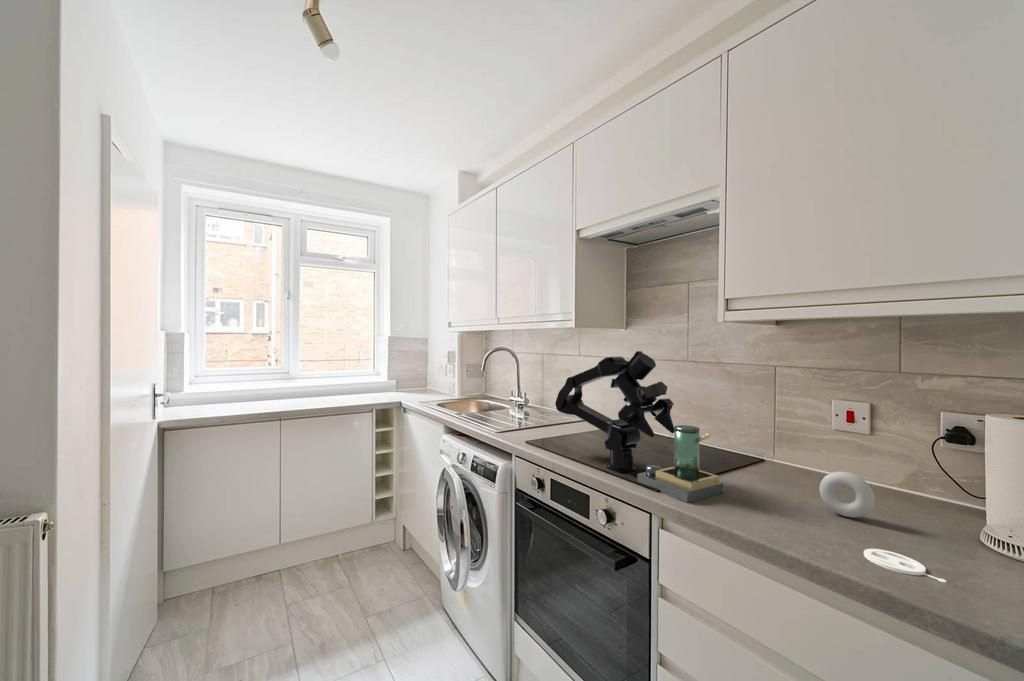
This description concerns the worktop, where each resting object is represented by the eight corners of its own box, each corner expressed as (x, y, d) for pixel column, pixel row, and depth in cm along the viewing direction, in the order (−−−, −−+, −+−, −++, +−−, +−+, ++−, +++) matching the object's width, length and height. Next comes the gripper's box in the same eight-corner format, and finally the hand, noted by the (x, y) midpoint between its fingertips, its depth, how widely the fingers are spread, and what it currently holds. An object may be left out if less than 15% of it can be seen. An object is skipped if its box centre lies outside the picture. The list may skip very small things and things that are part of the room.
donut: (876, 522, 92) (877, 476, 92) (872, 526, 89) (873, 479, 89) (821, 507, 99) (822, 465, 99) (817, 511, 97) (817, 468, 97)
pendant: (872, 549, 80) (872, 545, 80) (954, 577, 71) (954, 572, 71) (856, 558, 76) (856, 554, 76) (940, 589, 67) (940, 584, 67)
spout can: (669, 479, 111) (669, 426, 111) (682, 475, 114) (683, 424, 114) (703, 490, 103) (703, 433, 103) (716, 485, 106) (717, 430, 106)
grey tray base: (637, 482, 116) (637, 466, 116) (671, 475, 122) (671, 459, 122) (687, 502, 102) (687, 484, 102) (722, 492, 109) (722, 475, 109)
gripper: (626, 373, 115) (661, 420, 106) (668, 371, 125) (702, 413, 116) (604, 398, 121) (635, 445, 112) (646, 394, 132) (676, 436, 123)
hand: (663, 434), depth 116 cm, fingers open, 9 cm apart
